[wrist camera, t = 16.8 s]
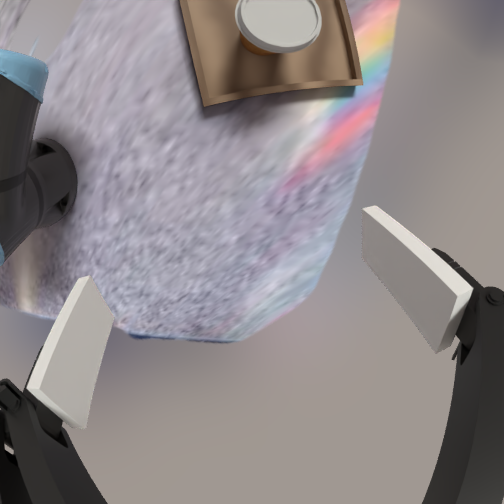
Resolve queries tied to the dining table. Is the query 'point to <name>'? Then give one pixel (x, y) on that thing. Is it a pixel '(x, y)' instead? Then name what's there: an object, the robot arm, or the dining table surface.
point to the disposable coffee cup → (277, 25)
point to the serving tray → (270, 66)
